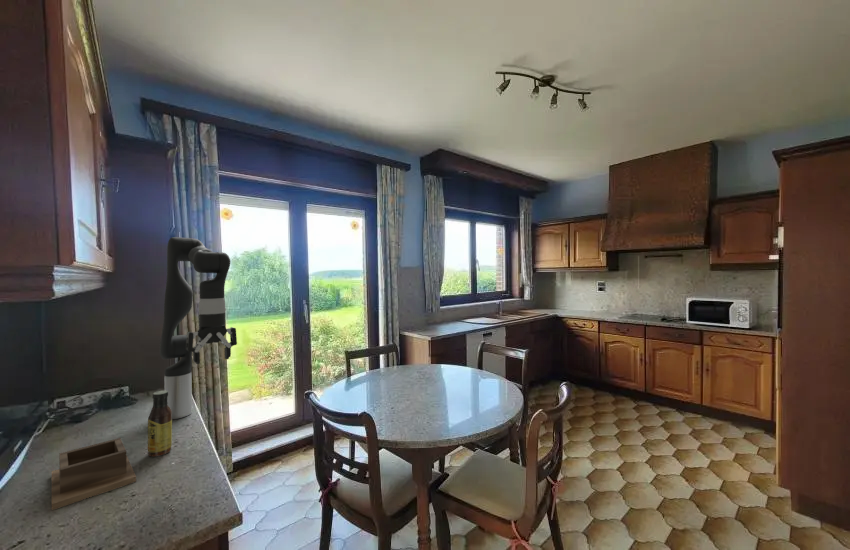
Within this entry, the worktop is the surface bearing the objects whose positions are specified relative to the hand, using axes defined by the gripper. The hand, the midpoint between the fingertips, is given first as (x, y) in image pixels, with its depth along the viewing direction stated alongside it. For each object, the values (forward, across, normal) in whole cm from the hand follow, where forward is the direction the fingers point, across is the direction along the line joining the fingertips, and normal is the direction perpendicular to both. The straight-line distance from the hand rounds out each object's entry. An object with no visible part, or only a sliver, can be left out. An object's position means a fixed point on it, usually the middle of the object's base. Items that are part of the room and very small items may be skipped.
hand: (212, 361), depth 114 cm
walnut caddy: (+29, +28, -7) cm, 41 cm away
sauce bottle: (+30, +12, -11) cm, 34 cm away
